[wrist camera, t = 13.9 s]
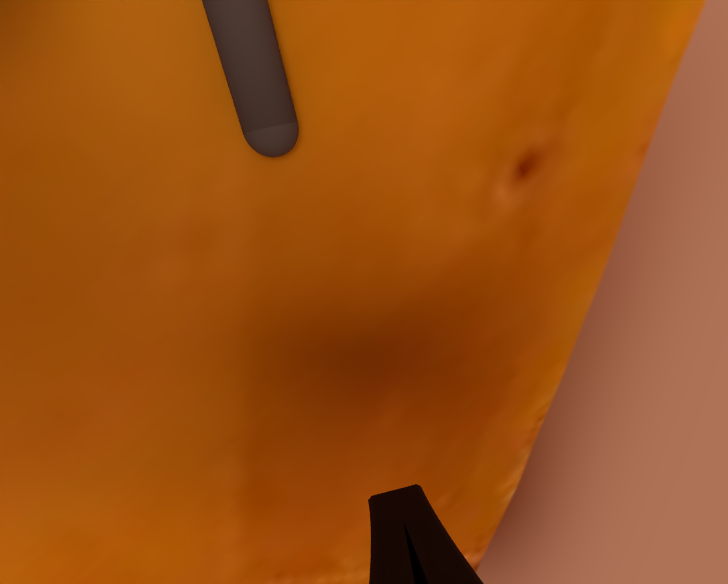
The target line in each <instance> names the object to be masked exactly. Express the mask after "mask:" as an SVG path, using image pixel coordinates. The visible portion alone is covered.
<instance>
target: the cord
mask: <svg viewBox="0 0 728 584" xmlns="http://www.w3.org/2000/svg"><path fill="white" fill-rule="evenodd" d="M202 1H203V5H204V8H205V11H206V14H207V18H208V21H209V24H210V27H211V31H212V34H213V37H214V40H215V44H216V47H217V50H218V53H219V57H220V60H221V63H222V66H223V69H224V73H225V76H226V79H227V82H228V86H229V89H230V92H231V95H232V99H233V102H234V105H235V108H236V112H237V115H238V118H239V121H240V125H241V128H242V131H243V134H244V136H245V139H246V141H247V142H248V144H249V145H250V146H251V147H252V148H253V149H254V150H255V151H256V152H258V153H260V154H262V155H264V156H268V157H278V156H281V155H284V154H286V153H287V152H289V151H290V150H291V149H292V148H293V146H294V145H295V143H296V140H297V137H298V122H297V118H296V114H295V110H294V106H293V102H292V98H291V94H290V90H289V86H288V82H287V78H286V74H285V70H284V66H283V62H282V58H281V54H280V50H279V46H278V42H277V38H276V34H275V30H274V26H273V22H272V18H271V14H270V10H269V6H268V2H267V0H202Z"/></svg>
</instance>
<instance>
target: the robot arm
mask: <svg viewBox="0 0 728 584" xmlns="http://www.w3.org/2000/svg"><path fill="white" fill-rule="evenodd" d="M368 502H369V509H370V521H371V562H370V580H369V584H483V582H482V581H481V580H480V578H479V577H478V576H477V574H476V573H475V572H474V570H473V569H472V567H471V566H470V565H469V563H468V562H467V560H466V559H465V558H464V556H463V555H462V553H461V552H460V551H459V549H458V548H457V546H456V545H455V543H454V542H453V540H452V539H451V537H450V536H449V534H448V533H447V531H446V530H445V528H444V527H443V525H442V523H441V522H440V520H439V519H438V517H437V515H436V514H435V512H434V510H433V509H432V507H431V505H430V503H429V501H428V500H427V498H426V496H425V494H424V492H423V490H422V488H421V486H419V485H417V484H415V485H412V486H408V487H404V488H400V489H396V490H393V491H389V492H385V493H381V494H377V495H374V496H371V497H370V499H369V500H368Z"/></svg>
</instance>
